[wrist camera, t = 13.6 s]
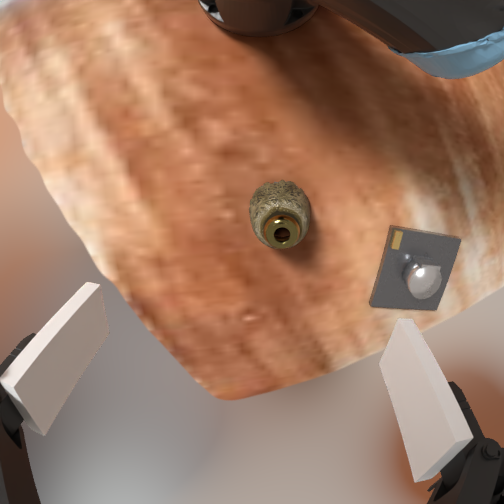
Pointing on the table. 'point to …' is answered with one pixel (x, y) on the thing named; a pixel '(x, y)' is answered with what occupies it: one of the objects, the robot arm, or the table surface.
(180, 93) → the table surface
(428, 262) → the grey plate with knob
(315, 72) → the table surface
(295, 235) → the scalloped lamp shade
